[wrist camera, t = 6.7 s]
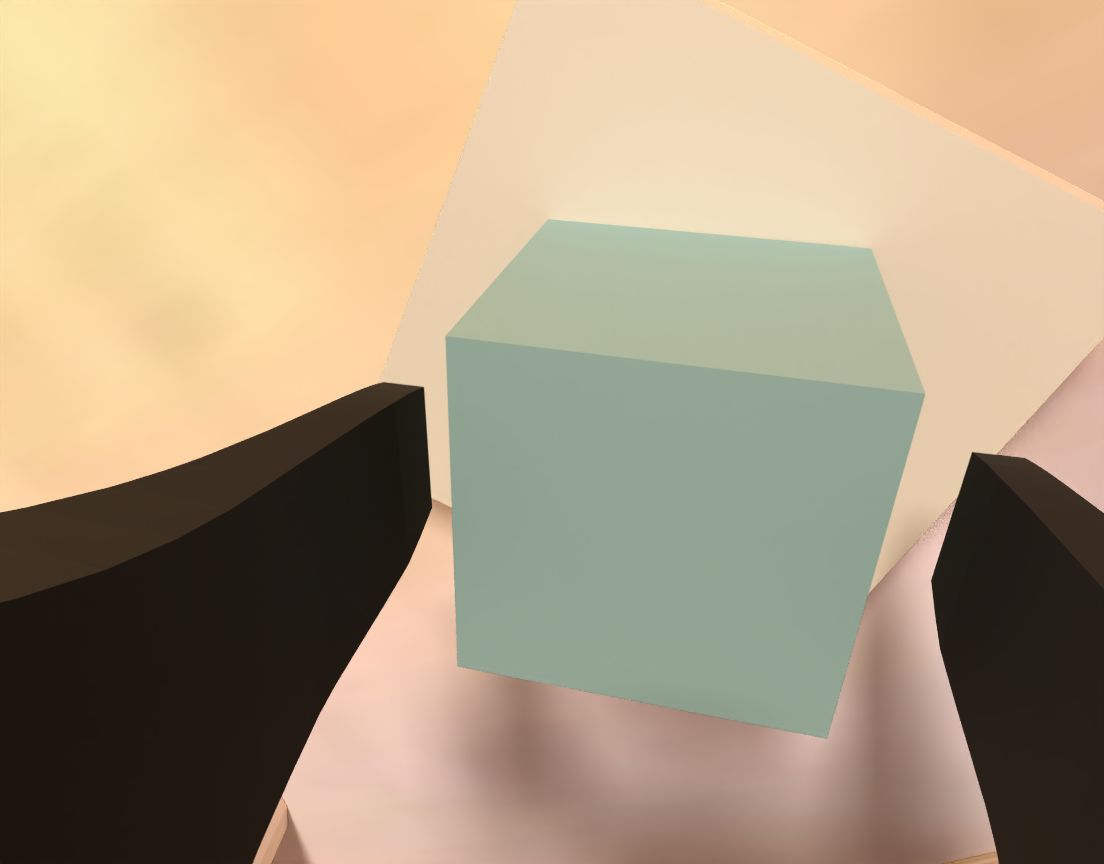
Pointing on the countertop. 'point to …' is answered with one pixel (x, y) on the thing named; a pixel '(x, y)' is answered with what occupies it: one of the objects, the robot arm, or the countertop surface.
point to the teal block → (676, 467)
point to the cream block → (770, 209)
